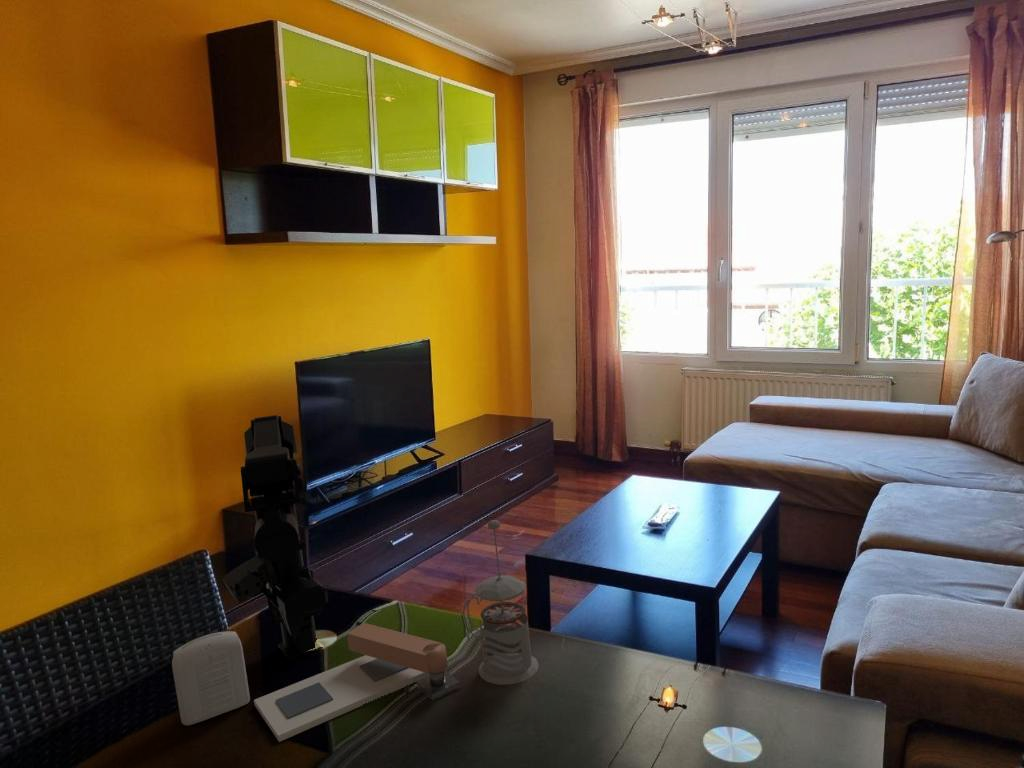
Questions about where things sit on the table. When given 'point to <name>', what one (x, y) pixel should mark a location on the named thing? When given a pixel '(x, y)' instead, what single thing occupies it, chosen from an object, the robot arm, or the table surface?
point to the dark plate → (438, 684)
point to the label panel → (332, 694)
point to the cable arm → (398, 648)
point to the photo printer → (210, 676)
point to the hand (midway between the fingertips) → (294, 634)
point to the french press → (503, 629)
